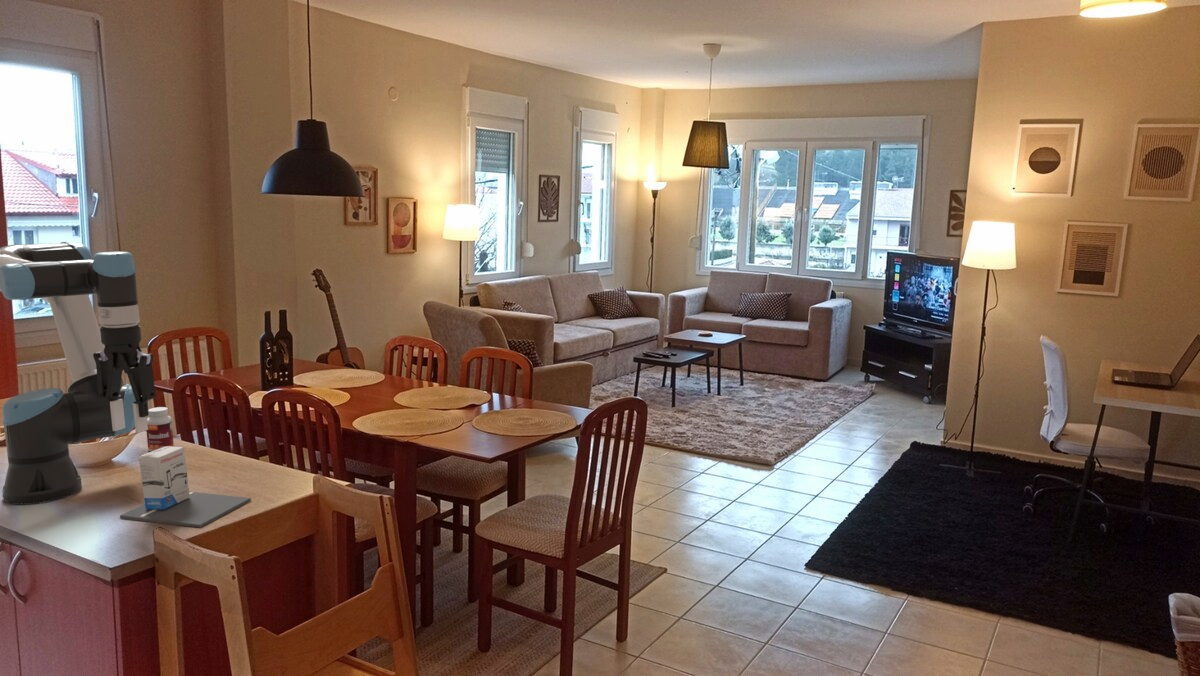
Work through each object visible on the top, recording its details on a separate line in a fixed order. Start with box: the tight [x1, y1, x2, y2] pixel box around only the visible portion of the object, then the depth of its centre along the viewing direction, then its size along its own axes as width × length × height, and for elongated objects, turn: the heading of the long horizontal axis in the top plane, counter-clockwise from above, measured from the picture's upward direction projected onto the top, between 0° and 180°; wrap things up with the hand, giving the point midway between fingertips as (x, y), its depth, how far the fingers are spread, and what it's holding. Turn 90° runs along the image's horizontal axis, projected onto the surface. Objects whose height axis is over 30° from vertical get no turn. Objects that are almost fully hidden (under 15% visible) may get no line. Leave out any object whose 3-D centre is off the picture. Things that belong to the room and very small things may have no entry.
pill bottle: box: [145, 406, 175, 452], centre depth 228 cm, size 6×6×11 cm
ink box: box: [138, 446, 190, 510], centre depth 186 cm, size 9×5×12 cm, turn 167°
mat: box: [119, 491, 252, 528], centre depth 186 cm, size 20×16×1 cm
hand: (130, 430), depth 186 cm, fingers open, 5 cm apart
